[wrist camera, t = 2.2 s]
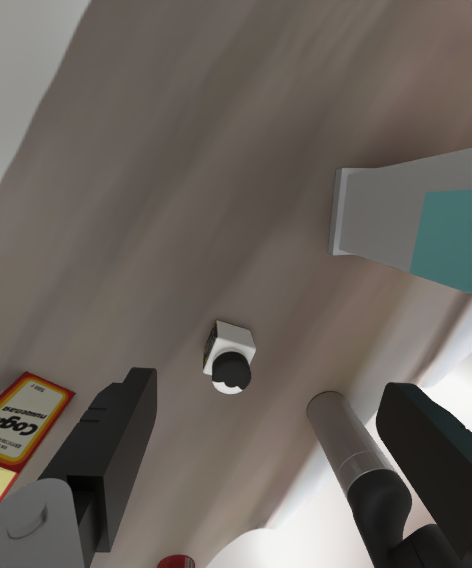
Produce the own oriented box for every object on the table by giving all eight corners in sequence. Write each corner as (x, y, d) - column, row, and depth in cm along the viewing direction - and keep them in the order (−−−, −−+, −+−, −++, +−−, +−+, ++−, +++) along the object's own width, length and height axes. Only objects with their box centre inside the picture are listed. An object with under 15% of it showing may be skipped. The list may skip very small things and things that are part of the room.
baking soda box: (11, 396, 48) (-79, 484, 33) (26, 371, 47) (-61, 450, 32) (60, 416, 51) (-3, 507, 35) (75, 393, 49) (17, 476, 34)
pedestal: (327, 253, 46) (556, 344, 16) (336, 169, 42) (668, 77, 12) (418, 250, 48) (780, 329, 18) (435, 170, 44) (946, 92, 14)
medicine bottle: (215, 319, 48) (218, 354, 36) (250, 329, 49) (263, 367, 38) (203, 350, 50) (201, 394, 38) (236, 360, 51) (245, 404, 40)
